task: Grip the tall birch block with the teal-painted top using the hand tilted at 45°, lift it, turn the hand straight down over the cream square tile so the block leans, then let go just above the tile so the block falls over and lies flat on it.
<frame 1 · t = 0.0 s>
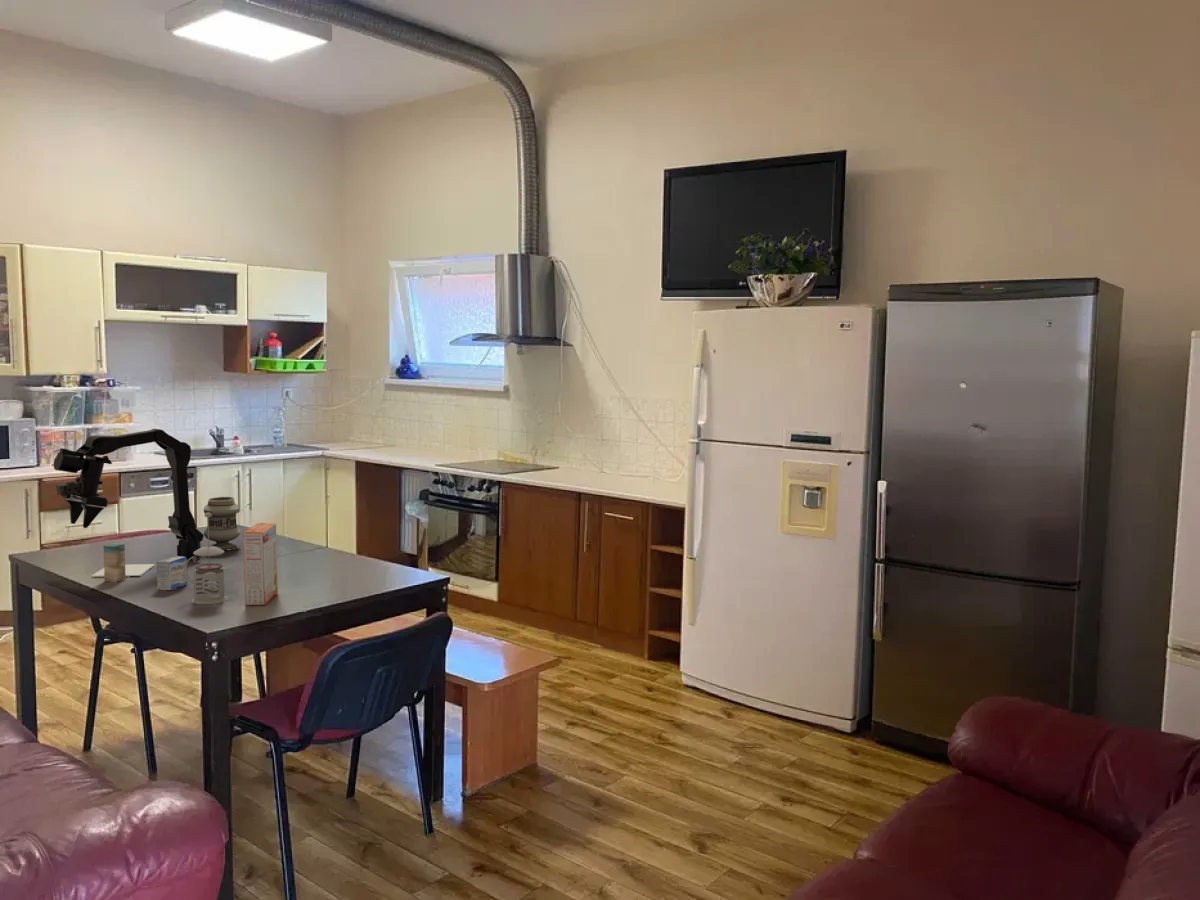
hand: (78, 525, 289), 15 cm above the table, tool pointing down, fingers open, 9 cm apart
cracker box: (261, 600, 267), on the table
cream square tile: (124, 571, 296), on the table
french press: (206, 600, 266), on the table
medicine box: (172, 588, 278), on the table
birch block: (115, 580, 285), on the table
apothecary jar: (222, 548, 334), on the table
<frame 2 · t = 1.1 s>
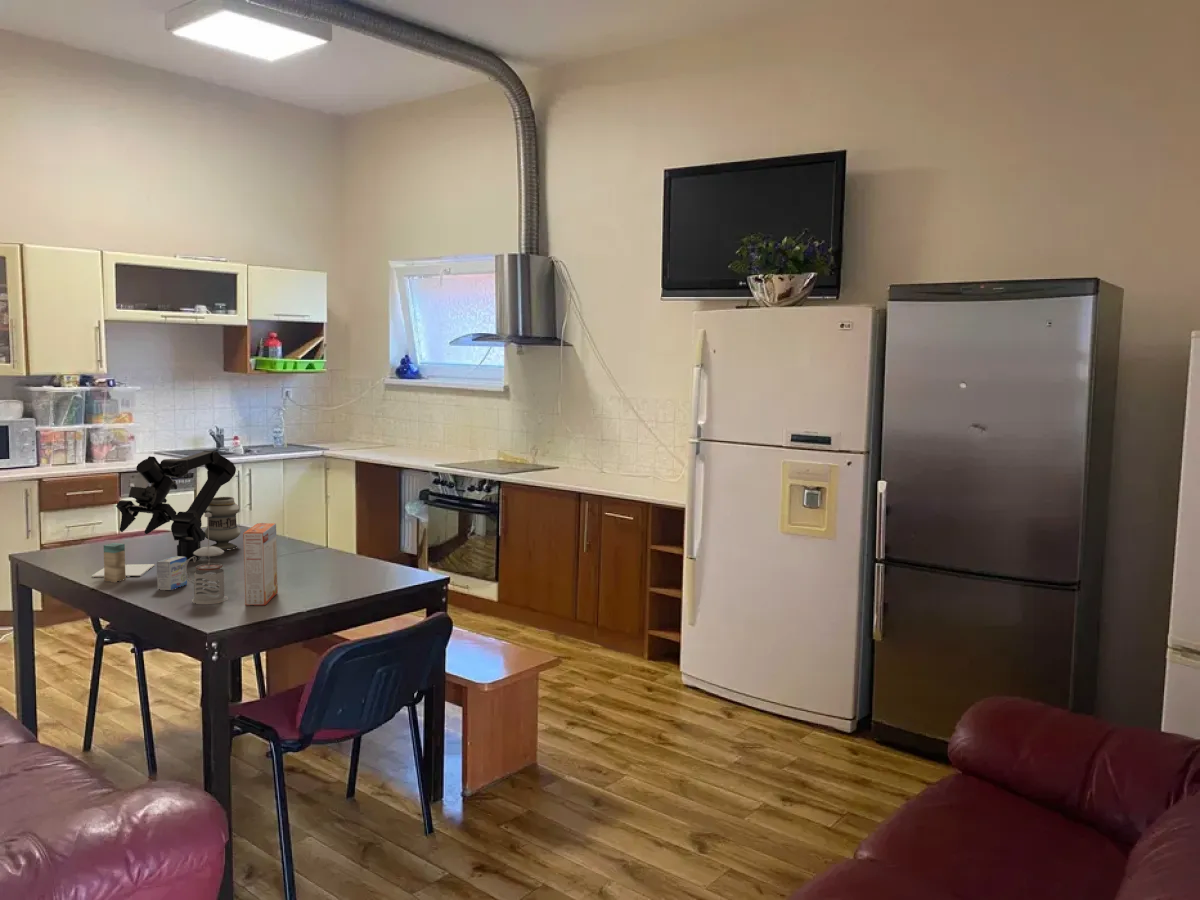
hand: (133, 532, 291), 13 cm above the table, tool tilted 45°, fingers open, 9 cm apart
nothing on the table moved.
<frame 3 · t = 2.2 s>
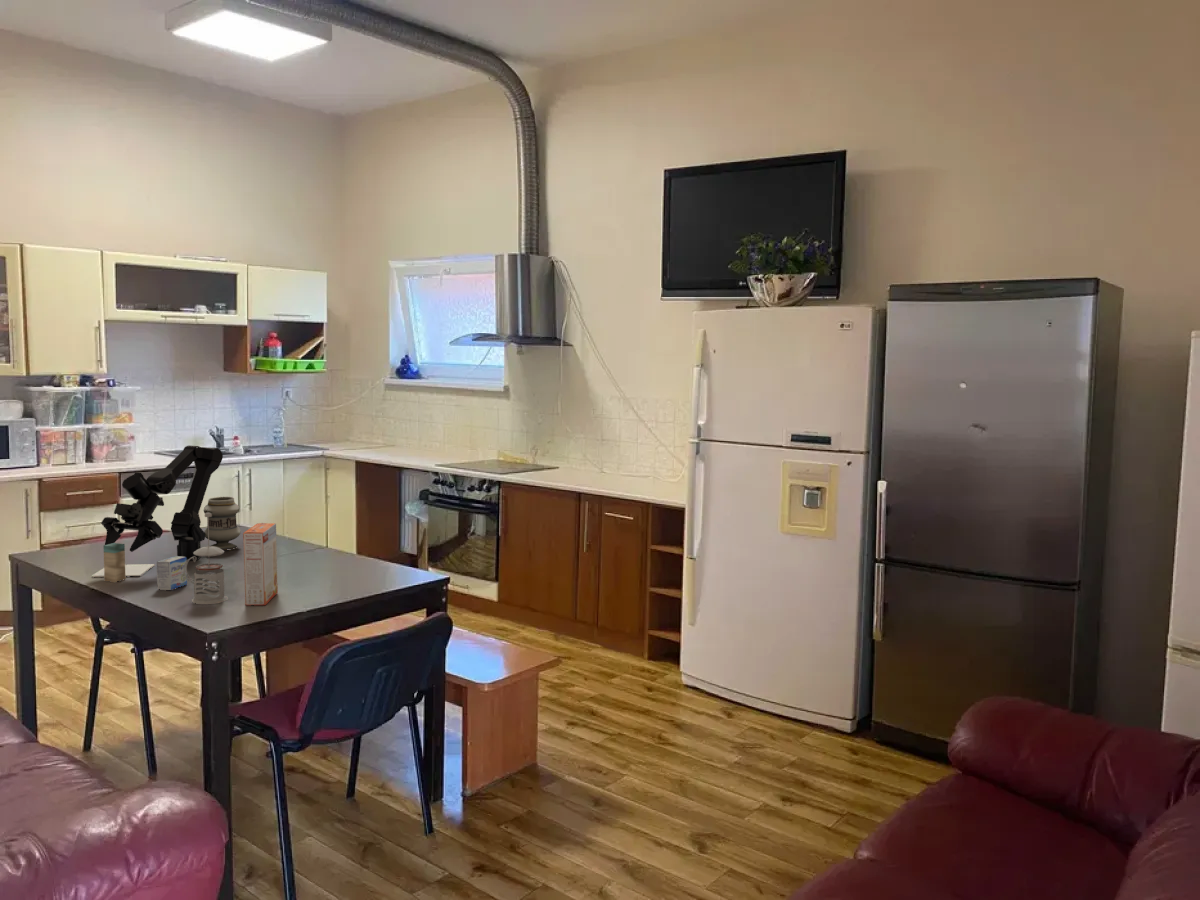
hand: (118, 549, 285), 9 cm above the table, tool tilted 45°, fingers open, 9 cm apart
nothing on the table moved.
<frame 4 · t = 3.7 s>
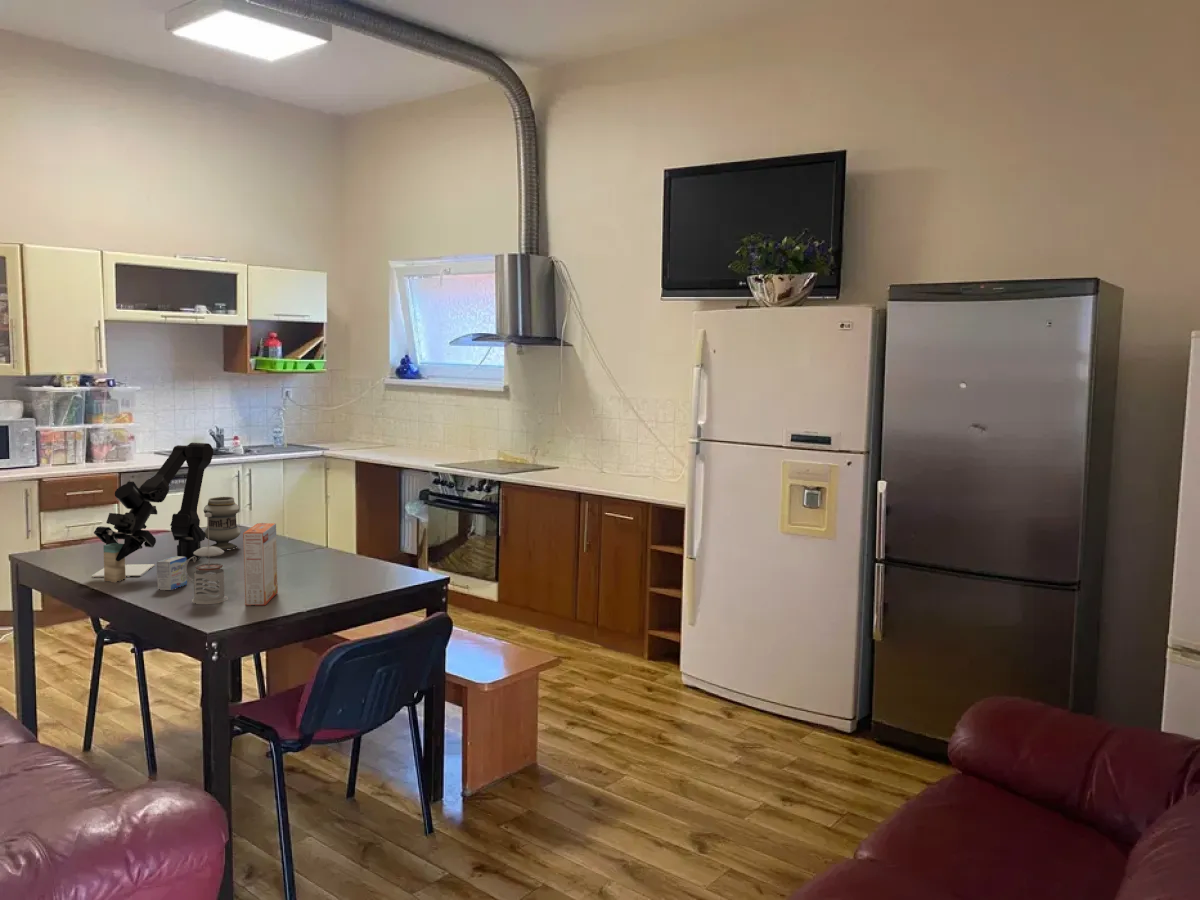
hand: (110, 559, 283), 7 cm above the table, tool tilted 45°, fingers closed on birch block, 4 cm apart
birch block: (115, 580, 285), on the table, touching gripper
everything else where it was.
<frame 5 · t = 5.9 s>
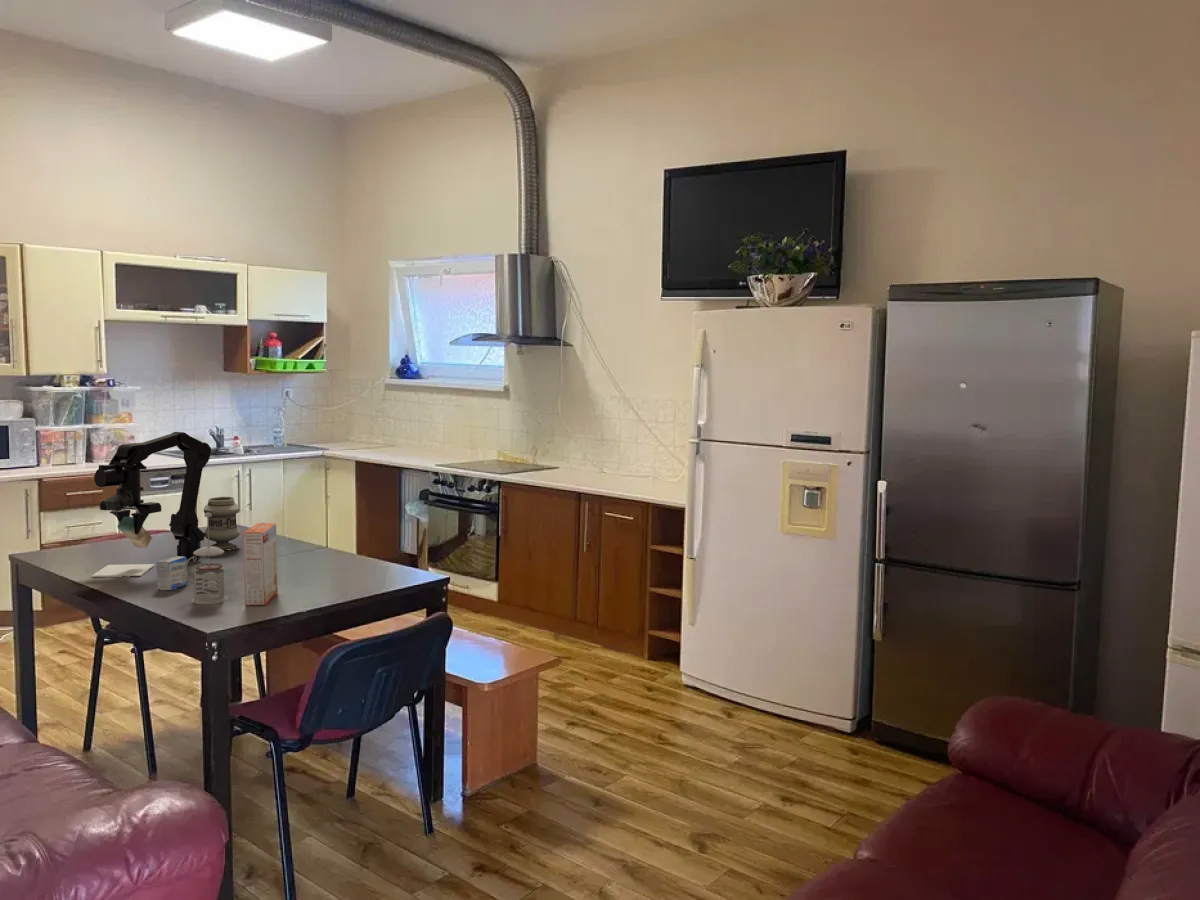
hand: (130, 533, 296), 12 cm above the table, tool pointing down, fingers closed on birch block, 4 cm apart
birch block: (144, 542, 302), point 8 cm above the table, tilted 44°, touching gripper
everything else where it was.
when the fingers open (7 cm above the table, at t = 7.9 s): birch block moves 2 cm and tips over, resting on cream square tile.
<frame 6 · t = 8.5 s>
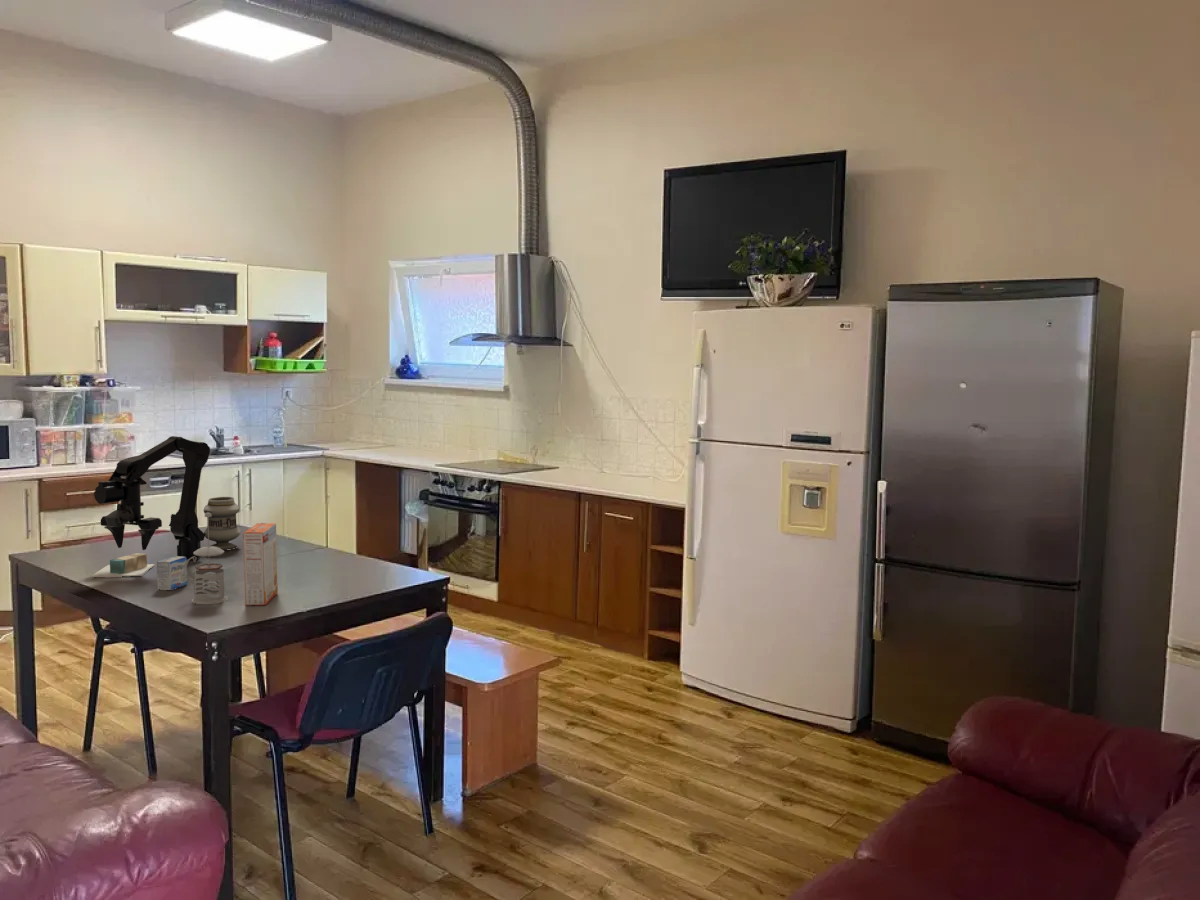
hand: (131, 548, 297), 7 cm above the table, tool pointing down, fingers open, 9 cm apart
birch block: (141, 559, 301), point 3 cm above the table, tilted 90°, touching cream square tile
everything else where it was.
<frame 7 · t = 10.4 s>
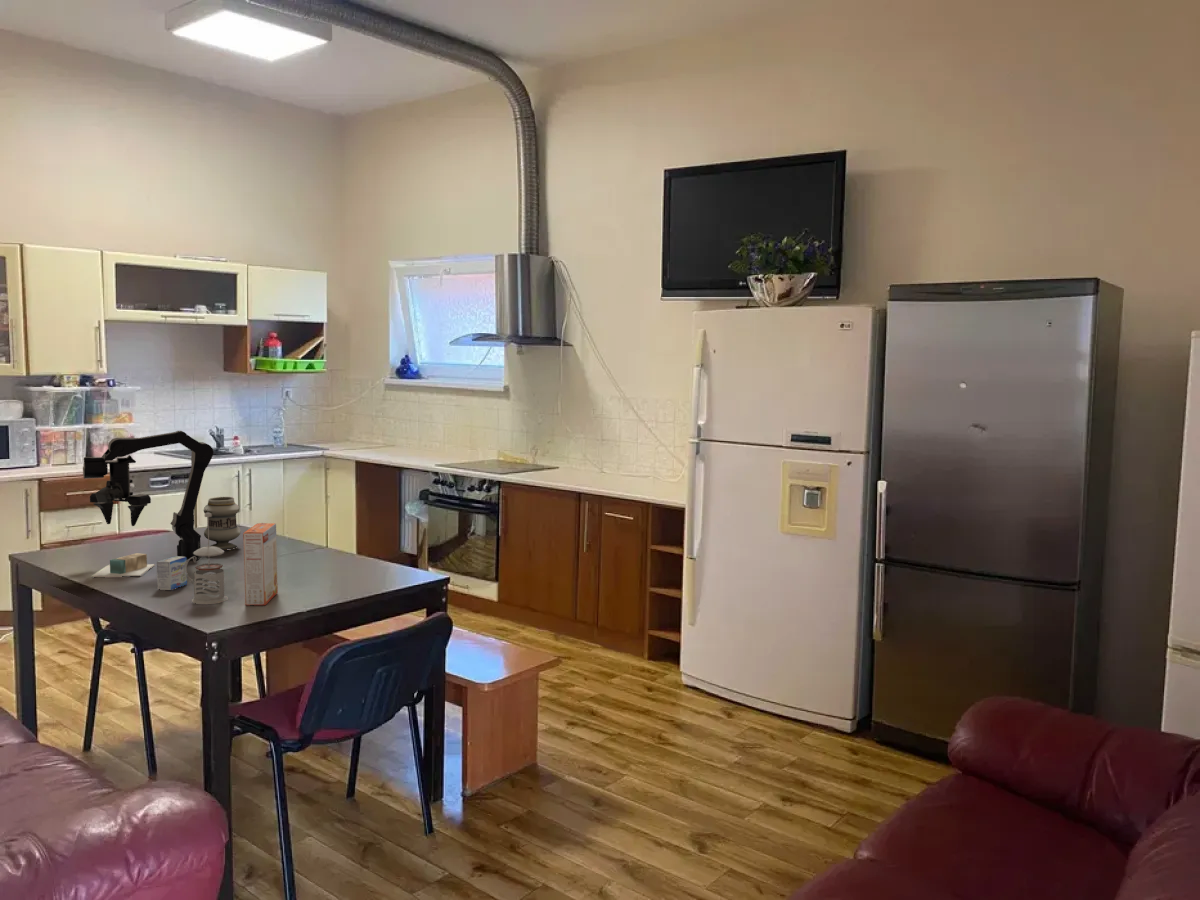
hand: (120, 524, 304), 13 cm above the table, tool pointing down, fingers open, 9 cm apart
nothing on the table moved.
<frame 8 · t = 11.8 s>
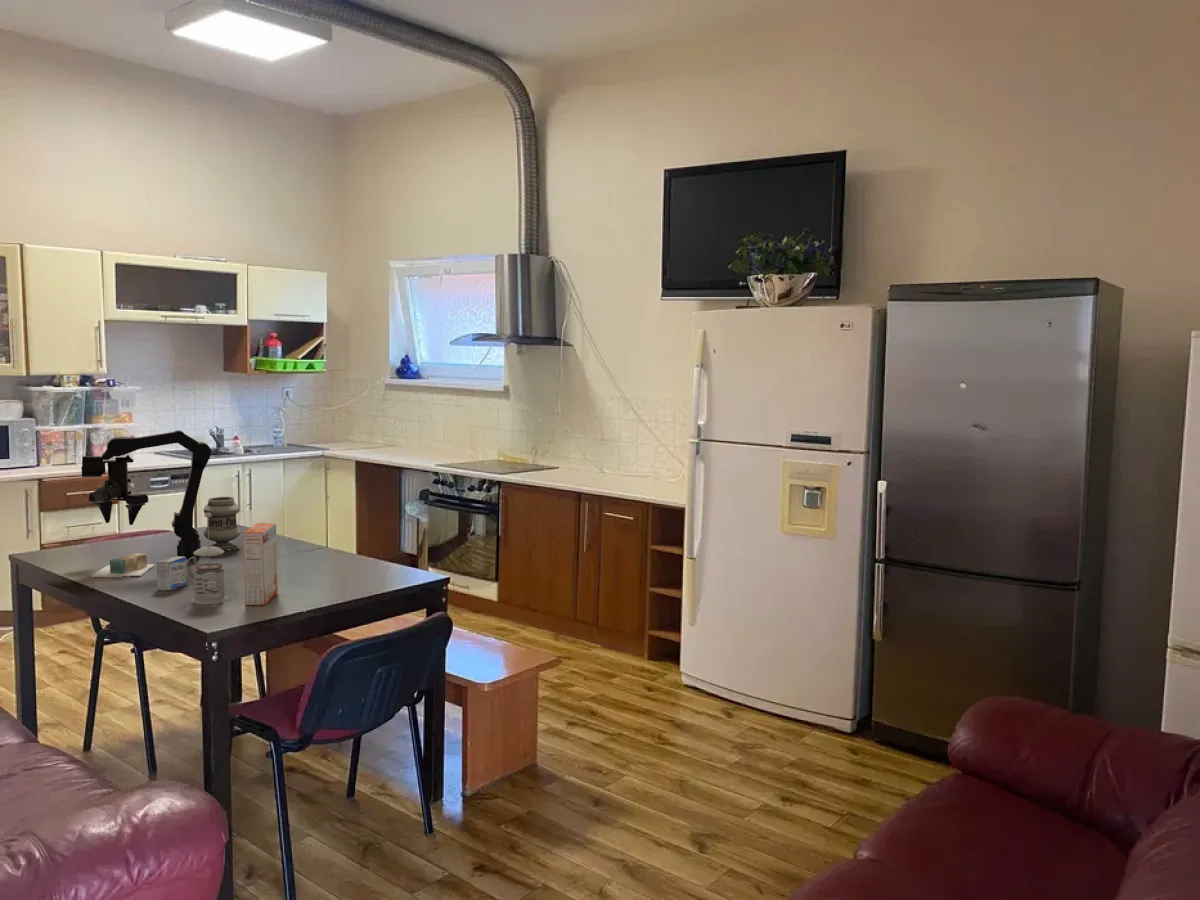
hand: (119, 523, 306), 13 cm above the table, tool pointing down, fingers open, 9 cm apart
nothing on the table moved.
at the end: birch block tilted 90°; birch block inside the target area (5.6 cm from its centre), point 2.6 cm above the table; the gripper is holding nothing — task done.
